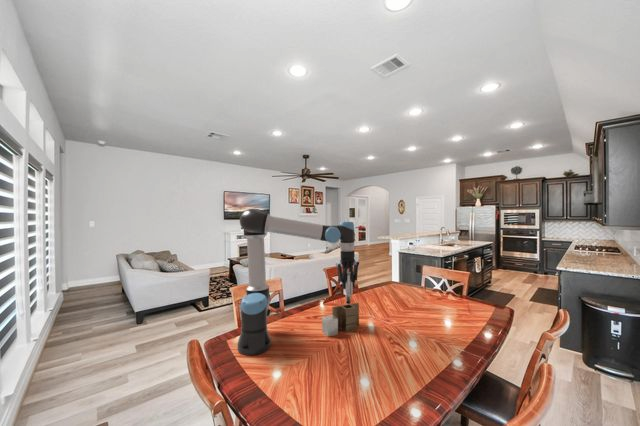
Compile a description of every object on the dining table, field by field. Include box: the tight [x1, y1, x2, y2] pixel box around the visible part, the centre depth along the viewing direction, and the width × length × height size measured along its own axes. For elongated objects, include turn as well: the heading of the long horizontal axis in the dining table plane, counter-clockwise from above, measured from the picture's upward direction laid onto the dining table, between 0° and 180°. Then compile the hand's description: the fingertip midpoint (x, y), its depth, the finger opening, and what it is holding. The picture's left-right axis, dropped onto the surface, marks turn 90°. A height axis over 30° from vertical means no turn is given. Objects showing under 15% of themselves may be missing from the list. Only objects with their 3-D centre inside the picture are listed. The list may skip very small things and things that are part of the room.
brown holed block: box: [340, 302, 360, 333], centre depth 143 cm, size 11×6×12 cm, turn 114°
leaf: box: [321, 305, 356, 338], centre depth 139 cm, size 17×6×12 cm, turn 114°
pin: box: [345, 270, 352, 305], centre depth 142 cm, size 3×3×17 cm
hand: (348, 294), depth 142 cm, fingers closed on pin, 2 cm apart
